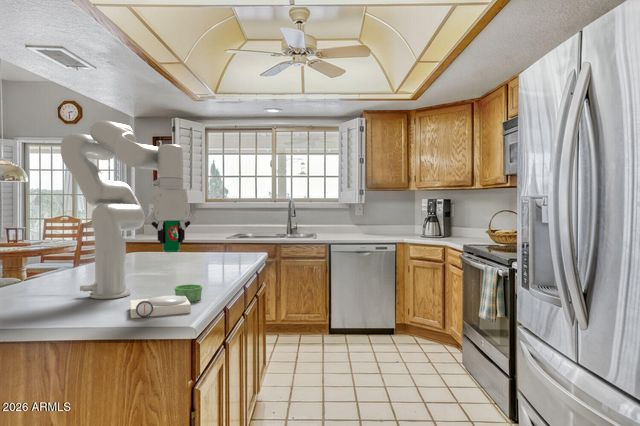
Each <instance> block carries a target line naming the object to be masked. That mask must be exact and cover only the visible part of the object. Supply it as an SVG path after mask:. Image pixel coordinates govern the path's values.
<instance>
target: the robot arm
mask: <svg viewBox="0 0 640 426" xmlns="http://www.w3.org/2000/svg"><path fill="white" fill-rule="evenodd" d="M60 157H61V159H62V162H63V164H64V165H65V167H66V169H67V170H68V171H69V173H70V174H71V175H72V176H73V178H74V180H75V182H76V184H77V185H78V187H79V190H80V191H81V193H82V195H83V197H84V198H85V201H86V202H87V203H88V205H90V206H92V207H95V208H94V209H93V210H92V212H91V224H92V227H93V235H94V282H93V283H91V284H89V285H87V284H83V285H79V291H80V292H84V293H85V292H90V293H89V297H90V298H91V299H97V300H98V299H99V300H108V299H117V298H118V299H119V298H124V297H127V296H129V295H131V290H130V288H129V289H128V288H127V285H126V284H127V283H126V282H127V277H126V276H127V274H126V273H127V270H126V269H127V260H126V259H127V257H126V256H127V244H126V241H125V238H124V237H123V234H122V233H121V231H123V232H125V231H135V230H138V229H141V228H142V227H143V226H144V224H145V222H147V223H149V224H150V225H151V226H152V227H153V228H155V229H156V230H157V242H159V244H162V245H163V222H164V221H179V222H180V244H181V243H183V242H184V241H185V237H186V235H185V230H186V229H187V228H188V227H189V225H191V224H192V223H193V222H194V221H196V217H195V216H194V215H193V213H192V212H191V211H190V210H189V197H188V193H187V191H188V190H187V189H186V188H184V150H183V147H182V146H181V145H178V144H172V143H171V144H170V143H169V144H168V143H164V144H160V145H159V146H154V145H150V144H144V143H143V144H142V143H137V137H136V135H135V132H134V130H133V129H132V128H131V126H130V125H127V124H124V123H120V122H114V121H111V120H102V119H101V120H97V121H94V122H93V123H92V124H90V128H89V134H87V133H86V134H85V133H70V134H66V135H65V136H64V137H63V138H62V139H61V142H60ZM114 158H116V160H118V161H119V162H121V163H123V164H125V165H127V166H128V167H131V168H135V169H143V170H151V171H157V179H156V180H152V185H153V186H156V187H157V188H155V191H154V196H153V197H154V198H153V210H152V211H150V213H149V214H148V215H147V216H146V215H145V212H144V209H143V207H142V205H141V203H140V202H139V199H138V198H137V197H136V194H135V193H134V191H133V189H132V188H131V187H130V186H129V184H128V183H126V182H123V181H120V180H109V179H106V178H105V176H104V175H103V174H102V171H101V169H99V167H98V166H97V165H96V164H95V163H93V162H92V161H91V160H99V161H108V160H112V159H114ZM90 159H91V160H90ZM155 220H156V221H157V222H156V221H155Z"/></svg>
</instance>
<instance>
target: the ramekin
mask: <svg viewBox="0 0 640 426" xmlns="http://www.w3.org/2000/svg"><path fill="white" fill-rule="evenodd" d="M173 289H174V293H175V295H174V296H186V298H187V299H188V301H189V302H190V303H192V302H193V303H194V302H198V301H200V300H201V299H202V291H203V290H202V289H203V285H201V284H197V283H196V284H195V283H193V284H191V283H190V284H189V283H188V284H180V285H179V284H178V285H176V286H175V287H173Z"/></svg>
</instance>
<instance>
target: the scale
mask: <svg viewBox="0 0 640 426" xmlns="http://www.w3.org/2000/svg"><path fill="white" fill-rule="evenodd" d="M191 305H192V304H191V302H189V301H188V299H187V298H186V296H175V295H161V296H155V297H151V298H140V299H130V300H129V309H130V310H129V311H130V319H138V318H147V317H149V316H150V317H157V316H158V317H159V316H170V315H178V314H180V315H181V314H189V313H190V314H191V312H192V311H191V310H192V309H191V308H192V307H191Z"/></svg>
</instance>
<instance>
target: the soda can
mask: <svg viewBox="0 0 640 426" xmlns="http://www.w3.org/2000/svg"><path fill="white" fill-rule="evenodd" d="M162 230H163V243H162V251H163V252H164V253H177V252H180V249H181V243H180V222H179V221H164V222H163V226H162Z"/></svg>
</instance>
